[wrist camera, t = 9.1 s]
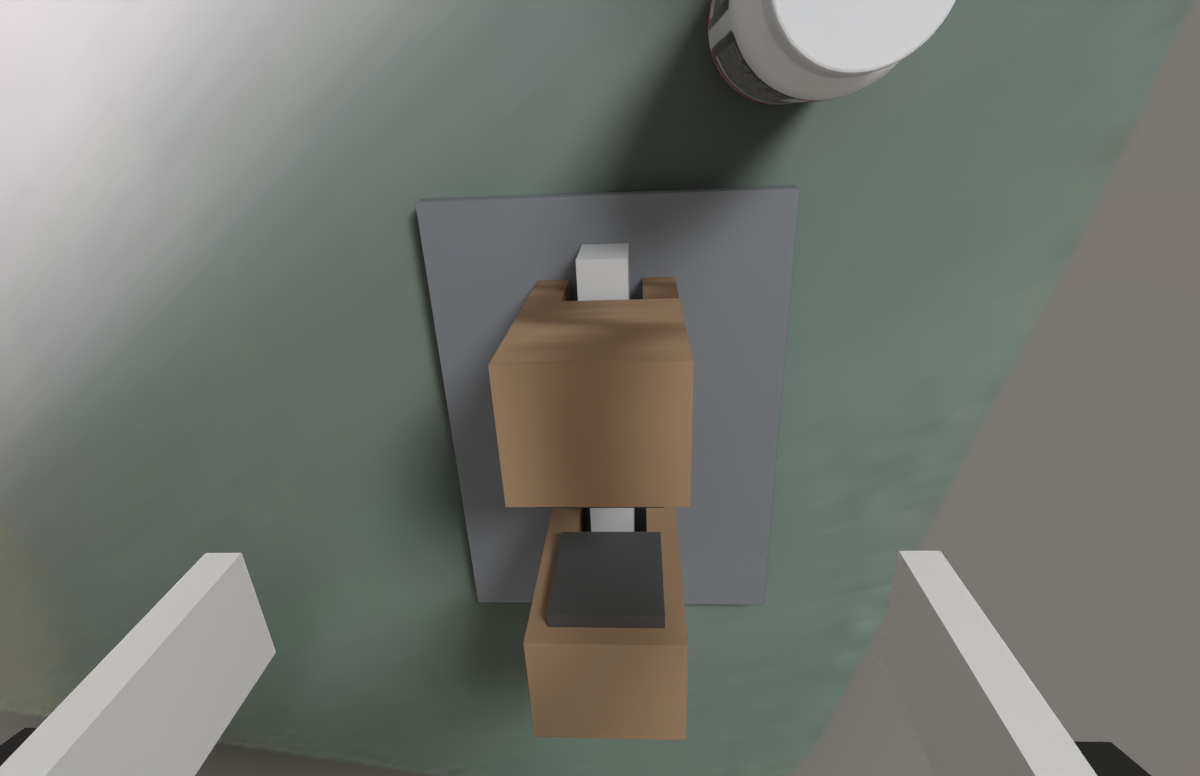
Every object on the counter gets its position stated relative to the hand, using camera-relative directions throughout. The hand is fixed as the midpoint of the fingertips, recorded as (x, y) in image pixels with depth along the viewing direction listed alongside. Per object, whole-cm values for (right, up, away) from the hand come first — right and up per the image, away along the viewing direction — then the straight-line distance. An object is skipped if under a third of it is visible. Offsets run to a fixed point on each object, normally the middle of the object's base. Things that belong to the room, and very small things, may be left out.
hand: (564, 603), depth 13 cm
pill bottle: (+8, +18, +11) cm, 23 cm away
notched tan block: (+1, +7, +15) cm, 17 cm away
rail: (+1, +3, +18) cm, 19 cm away
